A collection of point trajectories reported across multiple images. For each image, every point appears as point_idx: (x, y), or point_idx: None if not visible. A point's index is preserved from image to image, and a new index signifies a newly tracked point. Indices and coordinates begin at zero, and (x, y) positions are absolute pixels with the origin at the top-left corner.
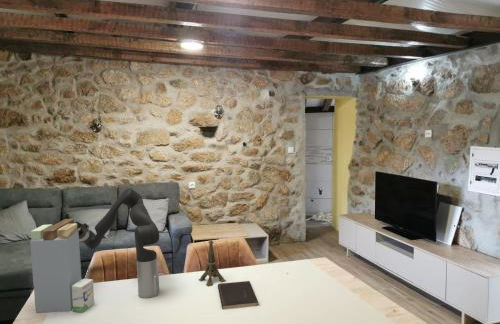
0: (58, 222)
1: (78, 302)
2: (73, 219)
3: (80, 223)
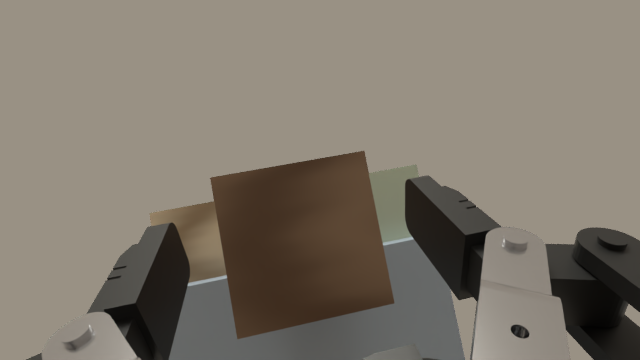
0: (408, 181)
1: None
2: (214, 192)
3: (96, 297)
